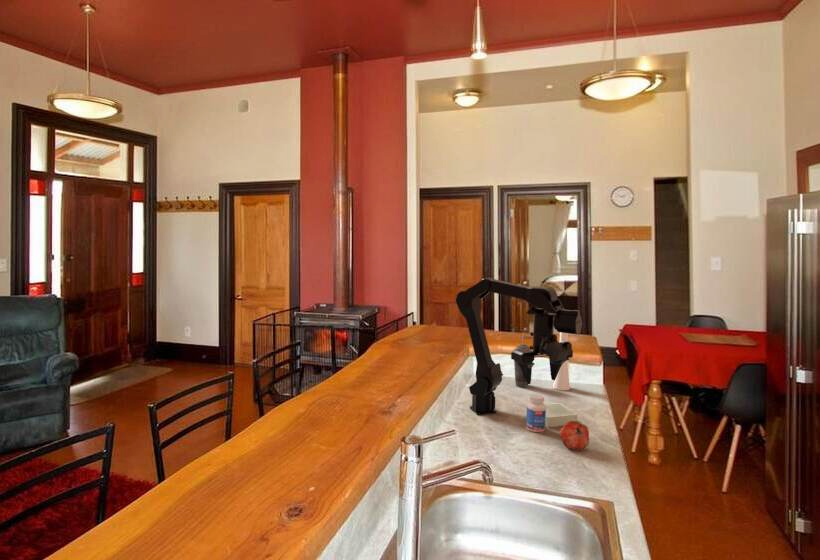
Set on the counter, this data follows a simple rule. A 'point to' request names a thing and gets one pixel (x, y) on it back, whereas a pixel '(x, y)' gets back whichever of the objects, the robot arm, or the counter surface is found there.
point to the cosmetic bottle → (563, 370)
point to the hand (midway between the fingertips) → (541, 381)
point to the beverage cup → (519, 375)
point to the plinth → (558, 415)
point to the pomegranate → (575, 435)
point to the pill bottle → (536, 413)
